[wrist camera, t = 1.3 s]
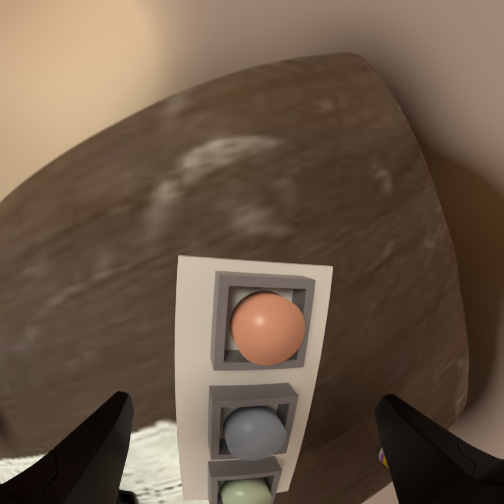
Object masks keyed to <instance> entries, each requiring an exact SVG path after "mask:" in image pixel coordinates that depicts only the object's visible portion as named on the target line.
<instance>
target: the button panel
mask: <svg viewBox="0 0 504 504" xmlns="http://www.w3.org/2000/svg"><path fill="white" fill-rule="evenodd" d="M332 271H333V267H332V266H325V265H310V264H295V263H280V262H266V261H252V260H238V259H224V258H210V257H197V256H184V255H179V256H178V272H177V290H176V316H175V394H176V418H177V435H178V449H179V461H180V471H181V481H182V489H183V497H184V500H209V504H223V501H222V497H221V493H220V487H221V485H222V484H223V483H224V482H226V481H227V480H238V479H249V478H258V477H261V478H262V479H264V481H265V483H266V485H267V487H268V490H269V492H270V494H271V496H272V499H271V502H270V503H269V504H273V502H274V499H275V495H276V493H279V492H284V491H288V489H289V486H290V483H291V480H292V476H293V473H294V469H295V466H296V462H297V459H298V455H299V452H300V448H301V444H302V440H303V436H304V432H305V428H306V424H307V420H308V416H309V411H310V407H311V402H312V398H313V393H314V388H315V383H316V378H317V373H318V368H319V362H320V357H321V351H322V345H323V339H324V332H325V326H326V319H327V312H328V305H329V297H330V289H331V280H332ZM257 291H271V292H274V293H277V294H279V295H280V296H282V297H284V298H285V299H287V300H289V301H290V302H292V303H293V304H295V305H296V306H297V307H298V308H299V309H300V311H301V313H302V314H303V317H304V320H305V335H304V339H303V341H302V343H301V345H300V347H299V349H298V350H297V351H296V352H295V353H294V354H293V355H292V356H291V357H290V358H288V359H287V360H285V361H283V362H281V363H279V364H275V365H269V366H263V365H258V364H255V363H252V362H250V361H249V360H247V359H246V358H245V357H244V356H243V355H242V354H241V352H240V351H239V349H238V347H237V345H236V343H235V341H234V340H233V337H232V335H231V332H230V327H229V322H230V317H231V313H232V311H233V309H234V307H235V306H236V305H237V303H238V302H239V301H240V300H241V299H242V298H244V297H245V296H247V295H249V294H251V293H254V292H257ZM264 405H265V406H268V407H270V408H271V409H273V410H274V411H275V413H276V414H277V416H278V418H279V419H280V421H281V423H282V425H283V426H284V428H285V430H286V433H287V437H286V441H285V443H284V445H283V446H282V447H281V449H280V450H279V451H277V452H276V453H275V454H273V455H271V456H269V457H267V458H264V459H261V460H255V461H246V460H241V459H238V458H236V457H234V456H233V455H232V454H231V453H230V452H229V450H228V447H227V443H226V440H225V436H224V432H223V423H224V421H225V419H226V418H227V416H228V415H229V414H230V413H231V412H233V411H234V410H236V409H238V408H240V407H250V406H264Z"/></svg>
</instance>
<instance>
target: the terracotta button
mask: <svg viewBox="0 0 504 504" xmlns="http://www.w3.org/2000/svg"><path fill="white" fill-rule="evenodd" d="M229 327H230V332H231V335H232V337H233V340H234V341H235V343H236V345H237V347H238V349H239V351H240V352H241V354H242V355H243V356H244V357H245V358H246V359H247V360H249V361H250V362H252V363H255V364H258V365H263V366H269V365H275V364H279V363H281V362H283V361H285V360H287V359H288V358H290V357H291V356H292V355H293V354H294V353H295V352H296V351H297V350H298V349H299V347H300V345H301V343H302V341H303V339H304V335H305V320H304V317H303V314H302V313H301V311H300V309H299V308H298V307H297V306H296V305H295V304H293V303H292V302H290V301H289V300H287V299H285V298H284V297H282V296H280V295H279V294H277V293H274V292H271V291H257V292H254V293H251V294H249V295H247V296H245V297H244V298H242V299H241V300H240V301H239V302H238V303H237V305H236V306H235V307H234V309H233V311H232V313H231V317H230V322H229Z"/></svg>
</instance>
